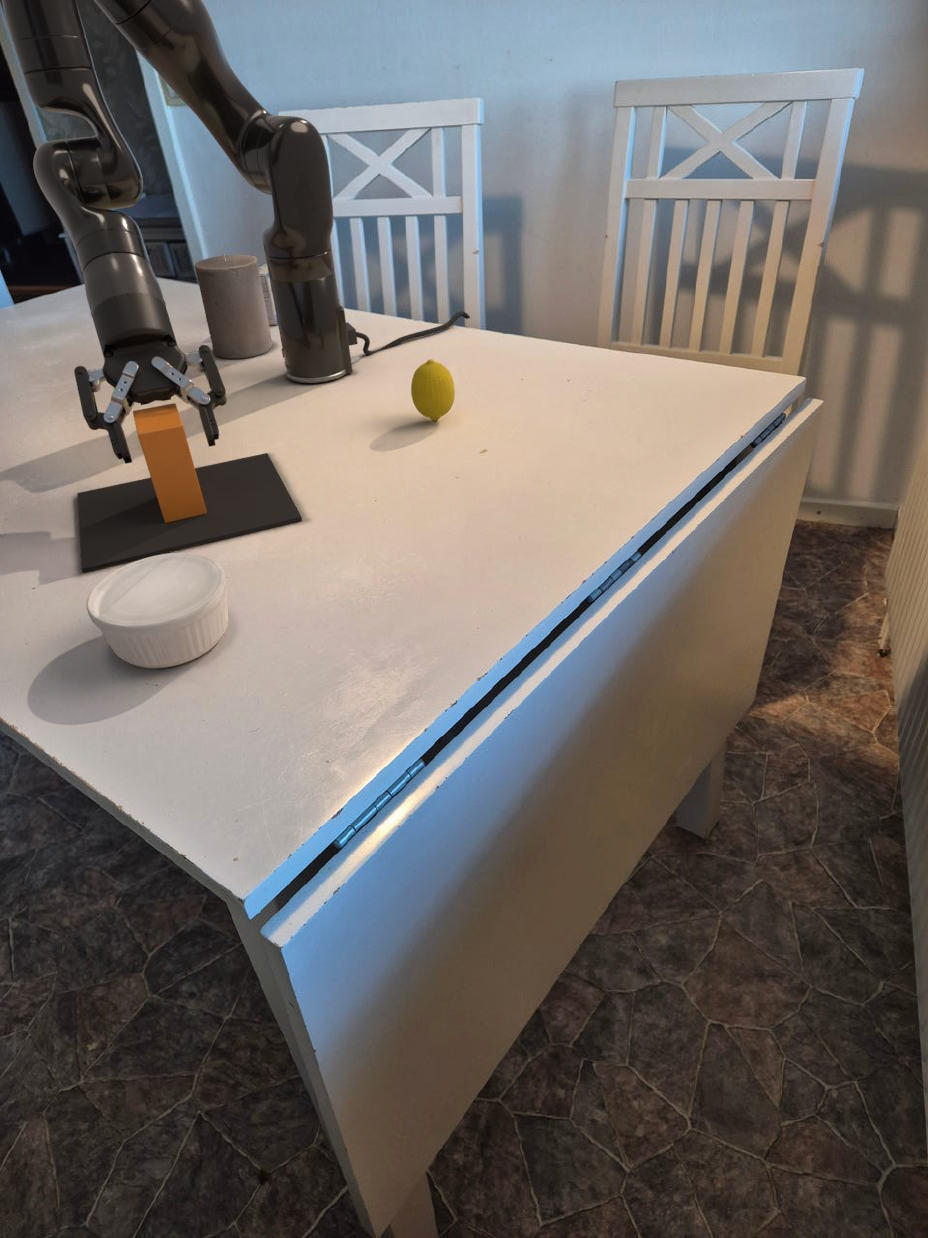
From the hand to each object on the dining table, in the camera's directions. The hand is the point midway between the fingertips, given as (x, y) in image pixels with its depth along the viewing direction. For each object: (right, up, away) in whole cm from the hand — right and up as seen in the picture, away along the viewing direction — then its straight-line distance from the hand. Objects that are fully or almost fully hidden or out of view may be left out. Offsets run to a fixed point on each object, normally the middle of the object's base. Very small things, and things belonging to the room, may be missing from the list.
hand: (170, 451), depth 84 cm
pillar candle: (-6, +27, +50) cm, 57 cm away
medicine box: (-4, +37, +64) cm, 74 cm away
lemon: (+27, +8, +22) cm, 35 cm away
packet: (0, -5, +5) cm, 7 cm away
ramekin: (+5, -19, -14) cm, 24 cm away
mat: (0, -5, +5) cm, 7 cm away
